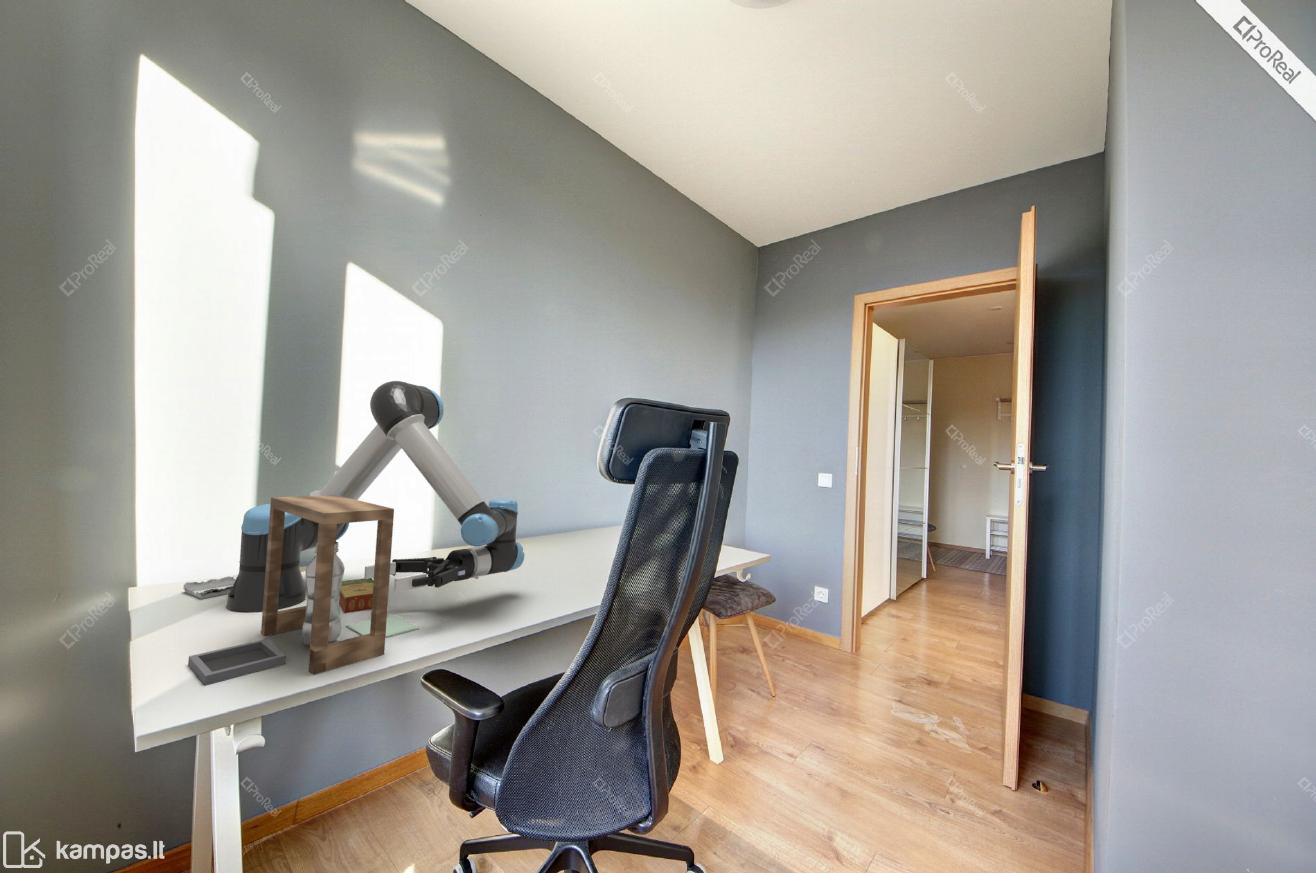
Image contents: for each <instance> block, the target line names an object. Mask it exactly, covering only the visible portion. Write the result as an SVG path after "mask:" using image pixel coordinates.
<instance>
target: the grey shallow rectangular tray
mask: <svg viewBox="0 0 1316 873" xmlns="http://www.w3.org/2000/svg"><path fill="white" fill-rule="evenodd" d="M286 661H287V655H286V654H285V653H283V651H281V650H280V649H279V648H277V647H276V646H275V645H274V644H272V643H271V642H270V641H269V640H267V639H266V638H264V639H259V640H255V641H250V642H246V643H241V644H237V645H234V646H233V645H232V646H229V647H224V648H220V649H215V650H211V651H207V652H202V653H197V654H193V655H189V656H188V660H187V662H188V663H187V664H188V666H189V668H190V669H191V670H192V671H193V672H194V674H195V675H196V676H197V677H198V678H199V680H200V681H201V683H202V684H203V685H204V686H208V685H211V684H215V683H219V682H222V681H226V680H230V679H234V678H238V677H241V676H245V675H248V674H252V673H255V672H260V671H263V670H268V669H272V668H275V666H276V667H279V666H283V665H286ZM278 665H279V666H278ZM267 668H268V669H267Z"/></svg>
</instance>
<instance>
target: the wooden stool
mask: <svg viewBox="0 0 1316 873" xmlns="http://www.w3.org/2000/svg"><path fill="white" fill-rule="evenodd" d="M270 504H271V505H270V518H269V532H268V545H267V558H266V572H265V585H264V599H263V611H261V612H262V614H261V615H262V616H261V626H260V628H261V630H260V634H261V635H262V636H263V637H268V636H271V634H273V635H276V634H283V633H286V632H290V631H295V630H299V628H300V629H302V627H303V623H304V621H305V615H306V608H307V605H304V606H299V607H298V606H297V607H292V608H288V609H281V610H279V609H278V601H279V587H280V574H281V560H282V547H283V533H284V519H285V512H286V513H289V514H293V515H296V516H299V517H302V518H305V519H308V520H311V521H314V522H317V523H319V529H318V543H317V553H316V555H317V557H316V556H315V557H316V571H315V585H314V599H313V613H312V627H311V641H310V646H309V655H308V656H309V657H308V670H307V671H308V673H310V674H311V675H312V676H314V675H317V674H321V673H325V672H327V671H331V670H335V669H338V668H341V667H346V666H348V665H349V666H350V665H353V664H356V663H358V662H361V661H365V660H369V659H373V658H376V657H379V656H382V655H385V648H386V647H385V646H386V638H385V636H386V622H387V615H388V608H389V607H388V603H389V591H390V589H389V588H390V576H391V575H390V563H391V562H392V544H393V543H392V542H393V533H394V532H393V530H394V518H395V516H394V515H395V509H394V508H393V507H388V506H383V505H379V504H375V503H370V502H367V501H363V500H359V499H358V500H355V499H350V498H346V497H342V496H338V495H323V496H309V495H303V496H301V495H300V496H277V497H275V496H274V497H270ZM375 521H377V529H376V539H375V558H374V565H375V568H374V578H373V581H374V582H373V597H372V609H371V613H370V616H371V617H370V619H371V626H370V633H369V634H365V635H358V636H353V637H349V638H345V639H341V640H338V641H335V642H333V643H330V644H328V633H329V619H330V605H331V591H332V577H333V563H334V549H335V542H337V540H336V535H337V524H340V523H349V524H350V523H351V524H352V523H363V522H375ZM294 629H295V630H294Z"/></svg>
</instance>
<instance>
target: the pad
mask: <svg viewBox="0 0 1316 873" xmlns="http://www.w3.org/2000/svg"><path fill="white" fill-rule="evenodd" d="M370 626H371V618H370V619H367V620H362V621H358V622H354V623H349V624H346V626H345V627H346V628H347V629H349V630H351V631H352V632H354V633H356V634H357V635H358V636H361V635H365V634H369V633H370ZM419 630H421V627H420V626H418V625H416V624H414V623H412V622H410V621H408V620H406V619H404V618H401V617H399V616H398V615H397V614H393V613H391V614H387V622H386V636H385V639H388V638H393V637H395V636H400V635H403V634H407V633H410V632H415V631H419Z"/></svg>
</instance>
